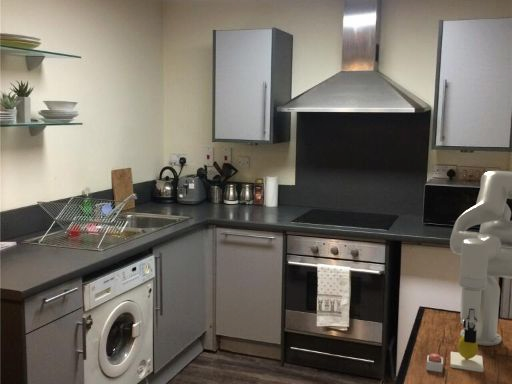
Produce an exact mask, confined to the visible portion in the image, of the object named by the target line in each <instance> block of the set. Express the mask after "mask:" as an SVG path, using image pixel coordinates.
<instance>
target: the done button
mask: <svg viewBox="0 0 512 384" xmlns="http://www.w3.org/2000/svg"><path fill="white" fill-rule="evenodd" d="M440 357H441V355H440V354H438V353H430V361H431V362H437V363H439V362H440Z"/></svg>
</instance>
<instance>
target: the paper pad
mask: <svg viewBox="0 0 512 384" xmlns="http://www.w3.org/2000/svg"><path fill="white" fill-rule="evenodd" d="M483 362H484V360H483V355H478V354H476V355H475V356H474V357H473V358H470V359H468V360H466V359H465V358H464V357H462V356H461V355H460V353H459V351H458V352H456V351H450V368H454V369H459V370H460V369H461V370H466V371H472V372H480V373H484V363H483Z"/></svg>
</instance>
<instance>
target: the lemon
mask: <svg viewBox="0 0 512 384" xmlns="http://www.w3.org/2000/svg"><path fill="white" fill-rule="evenodd" d="M478 348H479V345H478V344H477V341H476V343H469V342H464V336H462V337H461V336H460V338H459V340H458V343H457V350H458V353H460V355H461V356H462V357H464V358H465V359H466V360H468V359H470V358H473V357H474V356H475V355H477V353H478Z"/></svg>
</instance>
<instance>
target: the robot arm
mask: <svg viewBox="0 0 512 384" xmlns="http://www.w3.org/2000/svg"><path fill="white" fill-rule="evenodd" d="M507 199H512V171H506V170H489V171H487V172H484V173H483V174H482V175H481V177H480V189H479V192H478V196H477V199H476V203H475V205H473V206H472V207H470V208H468V209H466V210H464V212H463V213H462V214H460V215H459V217H457V219H456V220H455V223H454V225H453V229H452V231H451V234H450V239H449V248H450V251H451V252H452V253H453V254H456V255H458V256H460V261H459V263H460V264H459V275H458V276H459V278H458V285H459V287H461V297H460V298H461V299H460V322H459V323H460V324H462V325H463V329H461V331H460V333H459V334H460V338H461V337H462V336H464V342H469V343H476V341H477V345H478V346H490V347H491V346H497V345H499V344H500V343H501V342H502V337H501V335H500V334H499V333H497V332H498V322H499V307H500V296H501V288H500V285H499V282H498V281H497V279H496V277H498V278H499V277H500V278H504V279H505V278H506V279H510V280H511V279H512V220H511V217H512V211H511V208H510V207H509V205H508V203H507ZM477 225H478V226H479V225H480V227H479V232H476V231H470V230H468V229H469V228H472V227H474V226H477Z"/></svg>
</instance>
